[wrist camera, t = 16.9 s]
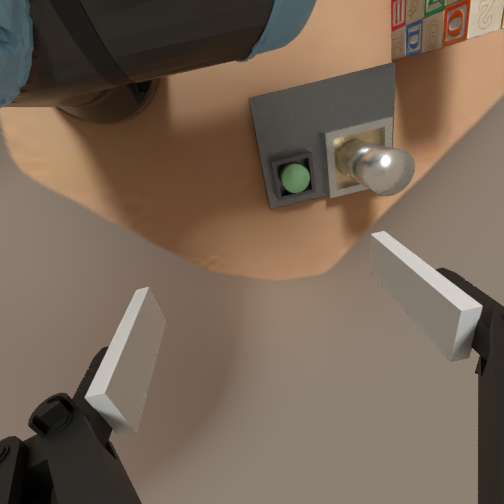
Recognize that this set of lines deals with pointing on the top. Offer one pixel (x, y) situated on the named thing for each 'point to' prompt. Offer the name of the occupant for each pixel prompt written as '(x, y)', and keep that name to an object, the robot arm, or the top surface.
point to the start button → (294, 177)
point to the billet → (377, 166)
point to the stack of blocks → (440, 23)
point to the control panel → (322, 129)
